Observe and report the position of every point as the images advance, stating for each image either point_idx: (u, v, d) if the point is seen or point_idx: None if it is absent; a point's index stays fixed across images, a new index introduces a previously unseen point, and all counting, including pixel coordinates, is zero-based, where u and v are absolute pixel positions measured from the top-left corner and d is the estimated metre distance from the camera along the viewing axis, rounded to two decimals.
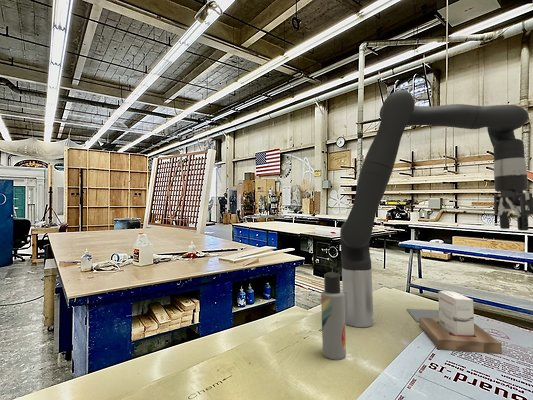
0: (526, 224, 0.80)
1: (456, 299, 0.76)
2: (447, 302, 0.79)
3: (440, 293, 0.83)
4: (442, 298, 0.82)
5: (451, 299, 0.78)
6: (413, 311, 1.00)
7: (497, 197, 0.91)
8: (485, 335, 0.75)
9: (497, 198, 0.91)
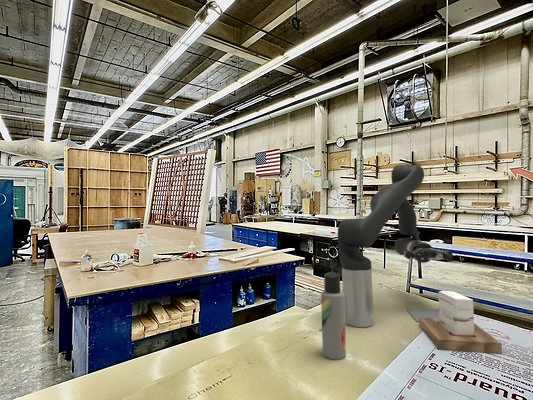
0: None
1: (456, 299, 0.76)
2: (447, 302, 0.79)
3: (440, 293, 0.83)
4: (442, 298, 0.82)
5: (451, 299, 0.78)
6: (413, 311, 1.00)
7: None
8: (485, 335, 0.75)
9: None
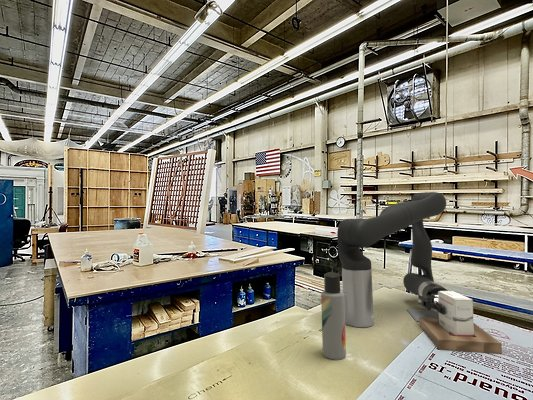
0: None
1: (455, 299, 0.76)
2: (446, 302, 0.79)
3: (439, 293, 0.83)
4: (441, 298, 0.82)
5: (450, 299, 0.78)
6: (413, 311, 1.00)
7: None
8: (485, 335, 0.75)
9: None
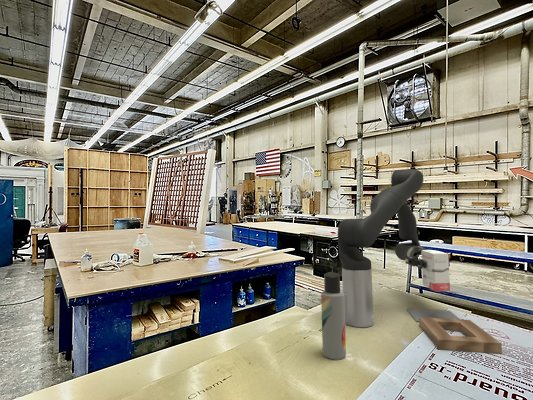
0: None
1: (434, 254, 0.91)
2: (427, 258, 0.94)
3: (422, 251, 0.97)
4: (424, 255, 0.96)
5: (430, 254, 0.92)
6: (413, 311, 1.00)
7: None
8: (485, 335, 0.75)
9: None
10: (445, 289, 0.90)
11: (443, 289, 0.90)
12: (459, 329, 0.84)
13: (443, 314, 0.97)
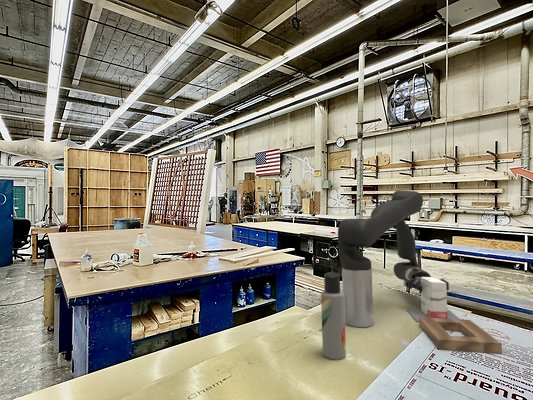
0: None
1: (432, 282, 0.93)
2: (426, 285, 0.96)
3: (421, 278, 1.00)
4: (423, 282, 0.99)
5: (428, 282, 0.95)
6: (413, 311, 1.00)
7: None
8: (485, 335, 0.75)
9: None
10: (442, 317, 0.92)
11: (440, 317, 0.92)
12: (459, 329, 0.84)
13: None
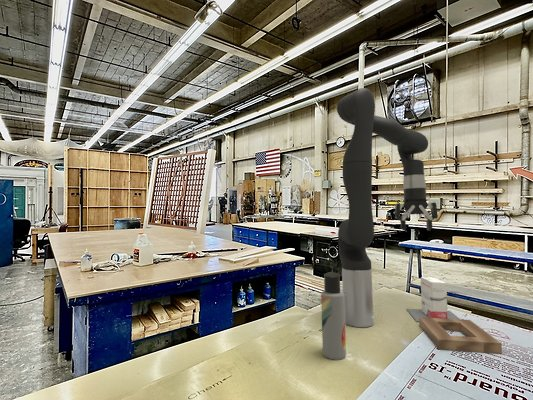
0: None
1: (432, 282, 0.93)
2: (426, 285, 0.96)
3: (422, 278, 1.00)
4: (423, 282, 0.99)
5: (429, 282, 0.95)
6: (413, 311, 1.00)
7: None
8: (485, 335, 0.75)
9: None
10: (442, 317, 0.92)
11: (440, 317, 0.92)
12: (459, 329, 0.84)
13: None
